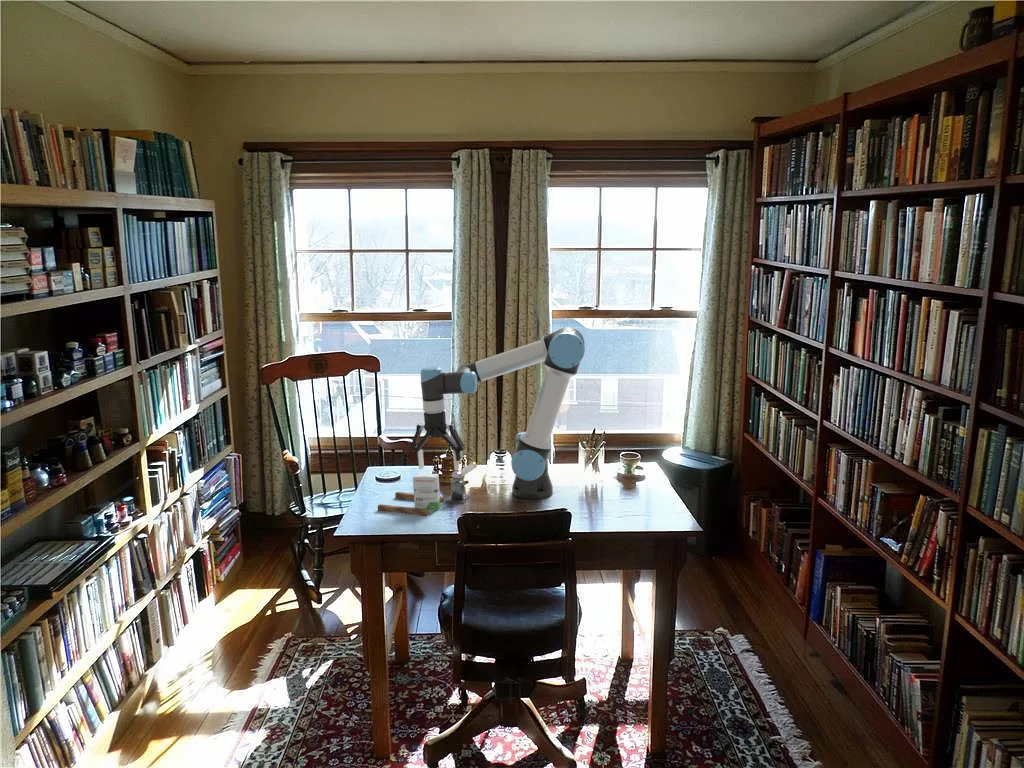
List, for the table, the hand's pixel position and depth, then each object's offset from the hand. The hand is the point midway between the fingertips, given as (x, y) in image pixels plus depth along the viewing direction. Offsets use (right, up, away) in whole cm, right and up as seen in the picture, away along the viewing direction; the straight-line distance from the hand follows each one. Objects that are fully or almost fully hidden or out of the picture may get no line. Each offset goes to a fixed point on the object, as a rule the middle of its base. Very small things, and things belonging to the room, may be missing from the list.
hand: (439, 468), depth 274 cm
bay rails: (-10, -13, +1) cm, 17 cm away
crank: (+9, -3, +11) cm, 14 cm away
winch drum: (+6, -12, +7) cm, 15 cm away
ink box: (-4, -14, -1) cm, 14 cm away
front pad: (-4, -14, -1) cm, 14 cm away
